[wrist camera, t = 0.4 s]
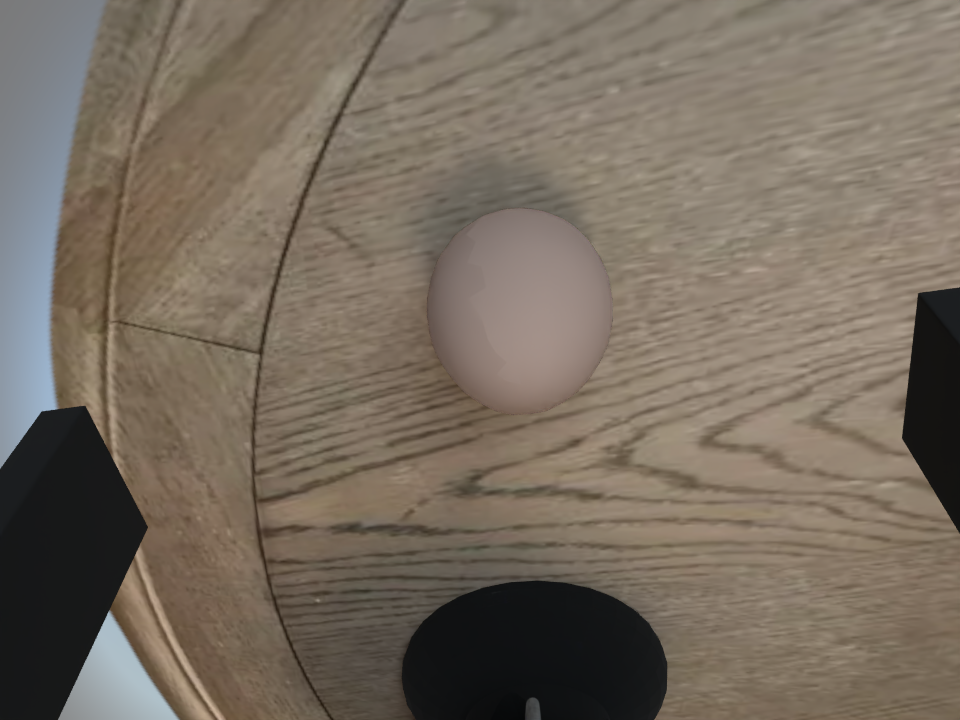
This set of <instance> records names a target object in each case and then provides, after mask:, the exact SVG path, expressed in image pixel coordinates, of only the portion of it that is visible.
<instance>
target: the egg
mask: <svg viewBox="0 0 960 720" xmlns="http://www.w3.org/2000/svg"><path fill="white" fill-rule="evenodd" d="M427 319H428V325H429V331H430V336H431V340H432V344H433V347H434V350H435V352H436V354H437V357H438V359H439V360H440V362H441V363H442V365H443V367H444V368H445V370H446V371H447V372H448V374H449V375H450V376H451V378H452V379H453V380H454V381H455V382H456V383H457V385H458V386H459V387H460V388H461V389H462V391H463V392H465V393H466V394H467V395H469V396H470V397H472V398H473V399H474V400H476V401H478V402H479V403H481V404H482V405H484V406H486V407H489V408H491V409H493V410H495V411H497V412H502V413H507V414H511V415H518V414H530V413H538V412H544V411H547V410H549V409H551V408H553V407H555V406H557V405H559V404H561V403H563V402H564V401H566V400H567V399H568V398H570V397H571V396H572V395H574V394H575V393H577V392H578V391H579V390H580V389H581V387H582V386H583V385H584V384H585V383H586V382H587V381H588V379H589V378H590V377H591V375H592V374H593V372H594V371H595V369H596V368H597V366H598V365H599V363H600V361H601V359H602V357H603V355H604V353H605V350H606V348H607V346H608V343H609V338H610V332H611V327H612V322H613V300H612V293H611V288H610V282H609V276H608V274H607V272H606V269H605V267H604V265H603V262H602V260H601V258H600V256H599V255H598V253H597V252H596V250H595V249H594V247H593V246H592V244H591V243H590V241H589V240H588V239H587V238H586V237H585V236H584V235H583V234H582V233H581V232H580V231H579V230H578V229H577V228H576V227H574V226H573V225H571V224H570V223H569V222H567V221H566V220H564V219H562V218H560V217H557V216H555V215H552V214H550V213H547V212H545V211H540V210H534V209H528V208H512V209H503V210H499V211H496V212H493V213H490V214H486V215H483V216H482V217H480V218H478V219H477V220H475V221H474V222H472V223H470V224H469V225H467V226H466V227H465V228H463V229H462V230H461V231H460V232H458V233H457V234H456V235H455V236H454V237H453V238H452V240H451V241H450V242H449V244H448V245H447V247H446V248H445V249H444V251H443V252H442V254H441V255H440V257H439V258H438V260H437V263H436V266H435V268H434V271H433V274H432V276H431V281H430V286H429V292H428V297H427Z"/></svg>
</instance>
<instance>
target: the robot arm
mask: <svg viewBox="0 0 960 720" xmlns="http://www.w3.org/2000/svg"><path fill="white" fill-rule="evenodd" d="M902 439H903V441H904V442H905V444H906V446H907V447H908V449H909V451H910V452H911V454H912V455H913V457H914V459H915V460H916V462H917V464H918V465H919V467H920V469H921V470H922V472H923V474H924V475H925V477H926V479H927V480H928V482H929V483H930V485H931V487H932V488H933V490H934V492H935V493H936V495H937V497H938V498H939V500H940V502H941V503H942V505H943V507H944V508H945V510H946V511H947V513H948V515H949V516H950V518H951V520H952V521H953V523H954V525H955V526H956V528H957V530H958V531H959V533H960V288H952V289H945V290H938V291H930V292H923V293H918V300H917V309H916V318H915V327H914V336H913V345H912V354H911V363H910V371H909V380H908V389H907V398H906V407H905V416H904V425H903V434H902ZM147 528H148V526H147V524H146V522H145V520H144V519H143V517H142V515H141V513H140V511H139V509H138V507H137V505H136V503H135V501H134V499H133V497H132V495H131V493H130V491H129V490H128V488H127V486H126V484H125V482H124V480H123V478H122V476H121V474H120V472H119V470H118V468H117V466H116V464H115V462H114V460H113V459H112V457H111V455H110V453H109V451H108V449H107V447H106V445H105V443H104V441H103V439H102V437H101V435H100V433H99V431H98V429H97V428H96V426H95V424H94V422H93V420H92V418H91V416H90V414H89V412H88V410H87V408H86V406H79V407H72V408H64V409H57V410H50V411H42V412H41V413H40V415H39V416H38V417H37V419H36V420H35V422H34V423H33V424H32V426H31V427H30V428H29V430H28V431H27V433H26V434H25V435H24V437H23V438H22V440H21V441H20V442H19V444H18V445H17V446H16V448H15V449H14V451H13V452H12V453H11V455H10V456H9V458H8V459H7V460H6V462H5V463H4V465H3V466H2V467H1V469H0V720H58V718H59V716H60V714H61V712H62V710H63V707H64V706H65V703H66V701H67V699H68V697H69V695H70V693H71V691H72V688H73V686H74V684H75V682H76V680H77V678H78V676H79V673H80V671H81V669H82V667H83V665H84V663H85V660H86V659H87V656H88V654H89V652H90V650H91V648H92V646H93V644H94V641H95V639H96V637H97V635H98V633H99V631H100V629H101V626H102V624H103V622H104V620H105V618H106V616H107V613H108V612H109V610H110V607H111V605H112V603H113V601H114V599H115V597H116V595H117V592H118V590H119V588H120V586H121V584H122V582H123V580H124V578H125V575H126V573H127V571H128V569H129V567H130V565H131V563H132V560H133V558H134V556H135V554H136V552H137V550H138V548H139V545H140V543H141V541H142V539H143V537H144V535H145V533H146V531H147Z"/></svg>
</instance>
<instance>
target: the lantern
mask: <svg viewBox="0 0 960 720" xmlns="http://www.w3.org/2000/svg"><path fill="white" fill-rule="evenodd" d="M402 683H403V690H404V694H405V698H406V702H407V705H408V707H409V709H410V710H411V712H412V714H413V716H414V717H415V719H416V720H654V719H655V718H656V716H657V714H658V712H659V710H660V708H661V706H662V703H663V700H664V697H665V694H666V690H667V661H666V658H665V654H664V651H663V648H662V645H661V643H660V641H659V639H658V637H657V636H656V634H655V633H654V631H653V630H652V628H651V626H650V625H649V623H648V622H646V621H645V620H644V619H643V618H642V617H641V616H640V615H639V614H638V613H637V612H636V611H635V610H633V609H632V608H630V607H629V606H627V605H625V604H624V603H622V602H620V601H619V600H617V599H615V598H613V597H611V596H608V595H606V594H603V593H601V592H598V591H595V590H593V589H590V588H585V587H581V586H576V585H572V584H567V583H559V582H545V581H527V582H511V583H505V584H500V585H495V586H490V587H485V588H482V589H479V590H476V591H474V592H471V593H468V594H465V595H462V596H460V597H458V598H456V599H454V600H453V601H451V602H449V603H447V604H445V605H444V606H442V607H440V608H439V609H437V610H436V611H435V612H434V613H433V614H432V615H430V616H429V617H428V618H427V619H426V620H425V621H423V623H422V624H421V625H420V627H419V628H418V629H417V631H416V632H415V633H414V635H413V636H412V638H411V641H410V643H409V646H408V648H407V651H406V654H405V657H404V659H403V667H402Z"/></svg>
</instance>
